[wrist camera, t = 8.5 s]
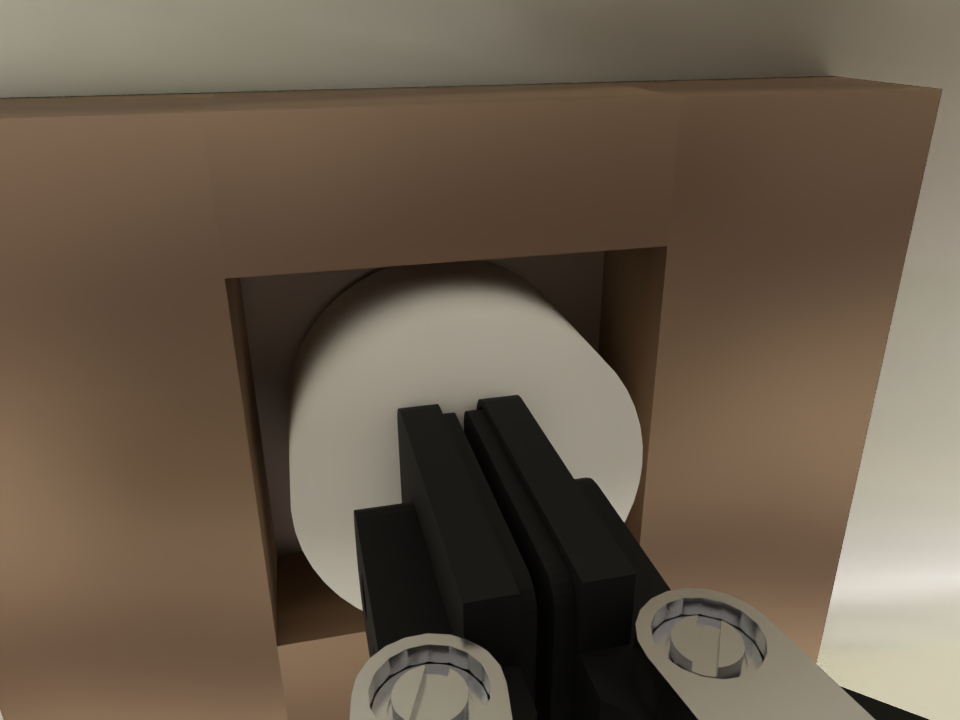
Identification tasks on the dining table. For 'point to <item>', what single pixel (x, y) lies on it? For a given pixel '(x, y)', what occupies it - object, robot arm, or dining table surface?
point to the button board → (410, 241)
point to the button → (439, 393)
